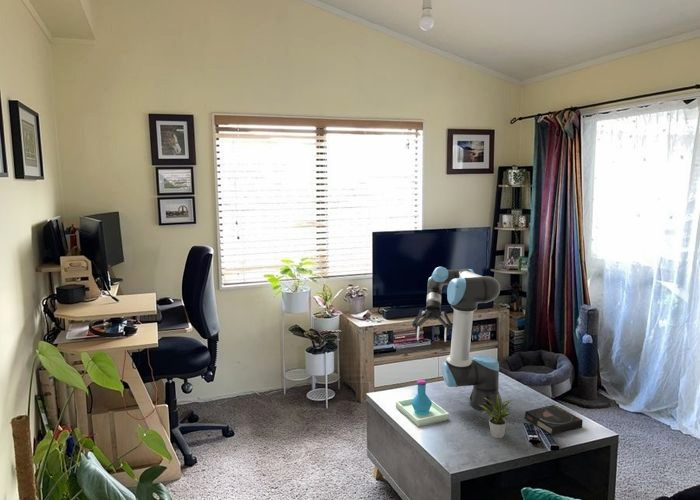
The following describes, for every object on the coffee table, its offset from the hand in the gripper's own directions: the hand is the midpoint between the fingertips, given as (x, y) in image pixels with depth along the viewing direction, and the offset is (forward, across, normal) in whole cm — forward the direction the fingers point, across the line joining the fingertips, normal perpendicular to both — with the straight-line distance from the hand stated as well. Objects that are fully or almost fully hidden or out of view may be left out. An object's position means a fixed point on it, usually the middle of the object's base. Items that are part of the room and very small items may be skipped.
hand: (431, 339), depth 257 cm
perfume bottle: (+36, +2, -2) cm, 36 cm away
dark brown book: (+36, -55, -4) cm, 66 cm away
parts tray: (+36, +2, -3) cm, 37 cm away
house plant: (+46, -31, +6) cm, 56 cm away
